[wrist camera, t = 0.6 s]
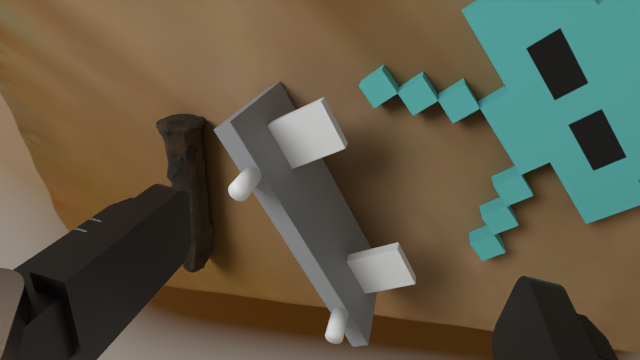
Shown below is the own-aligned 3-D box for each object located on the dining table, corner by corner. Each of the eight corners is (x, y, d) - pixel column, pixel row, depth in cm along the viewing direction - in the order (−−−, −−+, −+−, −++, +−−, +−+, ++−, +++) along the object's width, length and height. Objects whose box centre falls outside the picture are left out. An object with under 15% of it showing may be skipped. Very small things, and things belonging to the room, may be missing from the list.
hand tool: (173, 107, 38) (144, 124, 34) (210, 114, 37) (184, 132, 34) (190, 249, 48) (168, 275, 44) (219, 257, 47) (199, 284, 43)
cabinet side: (327, 57, 32) (276, 105, 21) (424, 256, 39) (422, 364, 29) (266, 88, 34) (194, 144, 24) (368, 269, 42) (347, 371, 31)
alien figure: (479, 245, 37) (741, 147, 28) (482, 260, 36) (764, 161, 26) (362, 78, 32) (635, -113, 23) (358, 86, 30) (654, -120, 21)
